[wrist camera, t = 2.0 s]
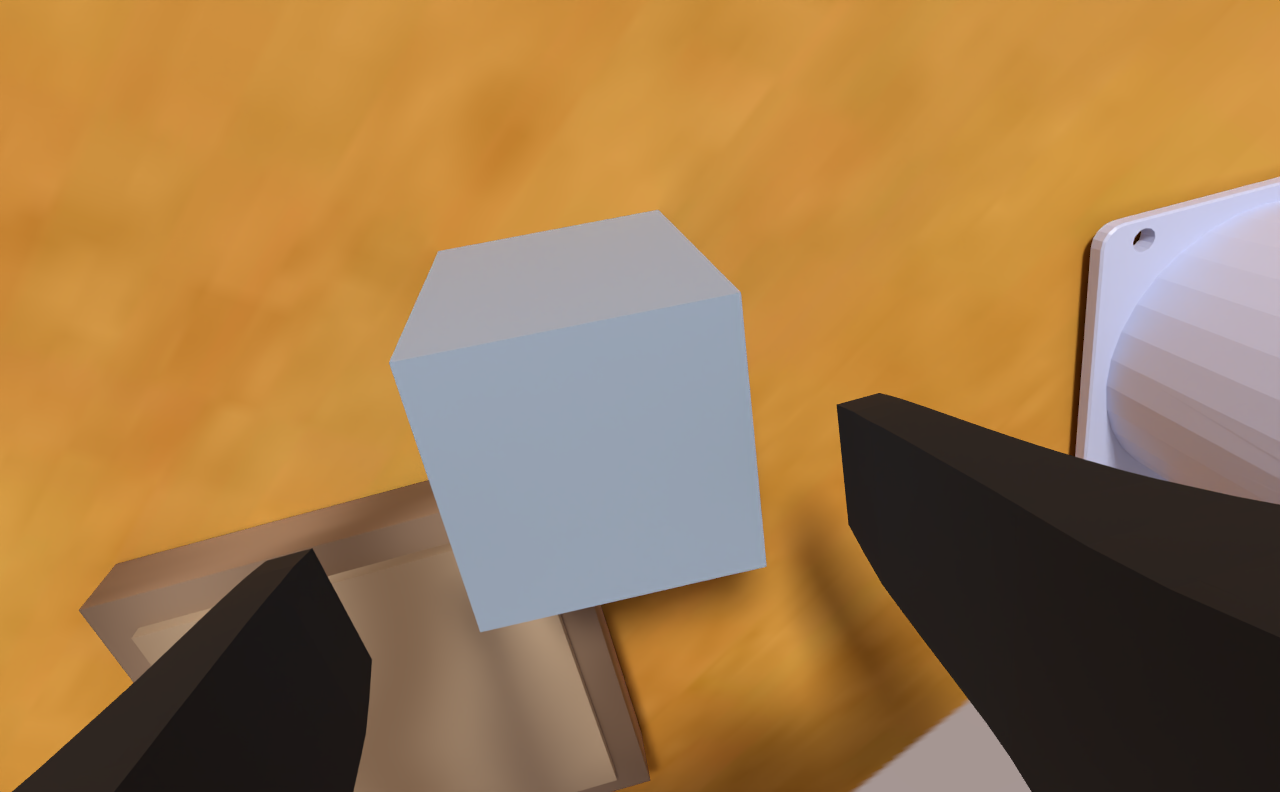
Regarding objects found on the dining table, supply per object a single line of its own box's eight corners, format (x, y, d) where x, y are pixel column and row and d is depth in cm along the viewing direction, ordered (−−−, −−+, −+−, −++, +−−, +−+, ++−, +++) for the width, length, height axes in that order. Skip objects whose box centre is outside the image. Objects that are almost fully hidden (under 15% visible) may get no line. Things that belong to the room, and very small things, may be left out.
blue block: (657, 209, 14) (740, 293, 9) (685, 403, 16) (766, 566, 11) (438, 250, 14) (388, 361, 9) (493, 443, 16) (480, 632, 11)
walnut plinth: (550, 447, 16) (554, 489, 15) (641, 734, 21) (652, 790, 19) (115, 564, 16) (70, 620, 14) (304, 831, 20) (286, 898, 19)
